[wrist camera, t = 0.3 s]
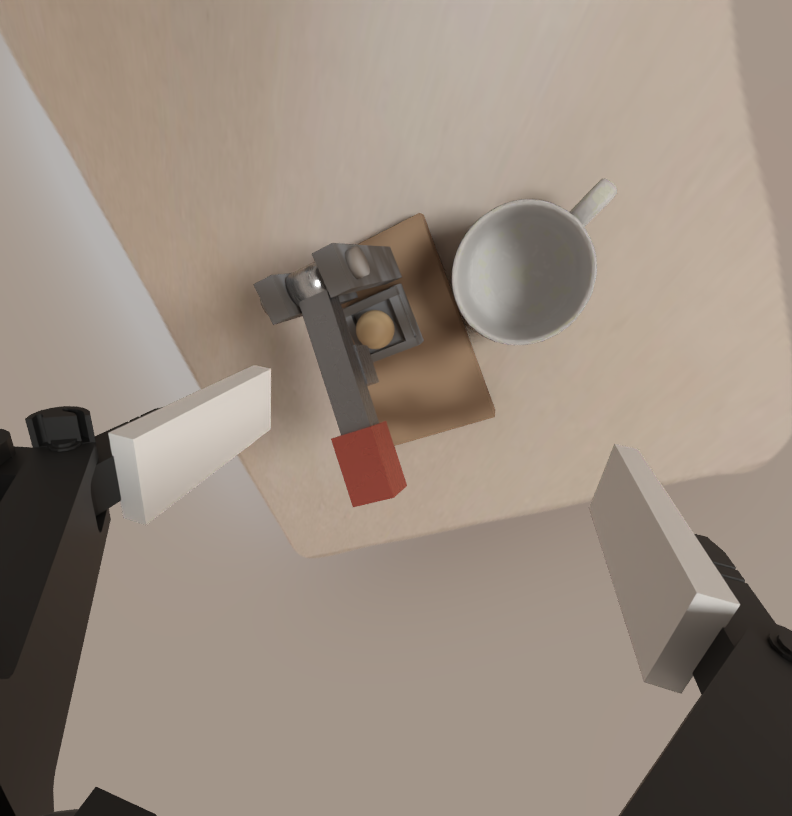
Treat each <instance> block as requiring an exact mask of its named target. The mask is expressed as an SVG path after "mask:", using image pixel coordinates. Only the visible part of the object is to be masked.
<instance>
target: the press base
mask: <svg viewBox="0 0 792 816" xmlns="http://www.w3.org/2000/svg"><path fill="white" fill-rule="evenodd" d="M312 256H313V258H314V260H315V263H316V265H317V267H318V269H319V272H320V274H321V276H322V278H323V281H324V283H325V285H326V287H327V290H328V292H329V294H330V296H331V298H332V297H336V296H338V297H339V300H340V303H341V306H342V309H343V312H344V315H345V318H346V321H347V325H348V328H349V331H350V334H351V337H352V340H353V343H354V345H355V344H357V345H363V344H362V343H361V342H360V341H359V339H358V337H357V334H356V325H357V322H358V320H359V318H360V317H361V316H362V315H363V314H364V313H366V312H368V311H371V310H379V311H382V312H384V313H386V314H387V315H388V316H389V317H390V318H391V319H392V321H393V324H394V336H393V338H392V340H391V342H390V343H389V344H388V345H387V346H385V347H383V348H380V349H371V348H369V352H370V355H371V358H372V361H373V364H374V367H375V370H376V373H377V376H378V379H379V382H378V383H376V384H373V385H370V386H367V387H368V390H369V393H370V396H371V399H372V402H373V405H374V408H375V411H376V414H377V418H378V421H379V423H381V422H384V421H386V422H387V425H388V428H389V431H390V434H391V438H392V441H393V444H394V446H395V445H399V444H402V443H406V442H409V441H413V440H416V439H420V438H423V437H427V436H430V435H434V434H437V433H440V432H444V431H447V430H451V429H454V428H458V427H461V426H465V425H468V424H472V423H475V422H479V421H482V420H486V419H489V418H493V417H495V408H494V405H493V402H492V400H491V397H490V394H489V392H488V389H487V386H486V383H485V381H484V378H483V375H482V372H481V370H480V367H479V364H478V362H477V359H476V356H475V353H474V351H473V348H472V345H471V342H470V340H469V337H468V334H467V332H466V329H465V326H464V323H463V321H462V318H461V315H460V313H459V310H458V307H457V304H456V302H455V299H454V296H453V293H452V291H451V288H450V285H449V283H448V280H447V277H446V274H445V272H444V269H443V266H442V263H441V261H440V258H439V255H438V253H437V250H436V247H435V244H434V242H433V239H432V236H431V234H430V231H429V228H428V225H427V223H426V220H425V217H424V215H423V214H421V213H418V214H416V215H414V216H412V217H410V218H409V219H407V220H405V221H403V222H401V223H399V224H397V225H395V226H393V227H391V228H389V229H387V230H385V231H383V232H381V233H379V234H377V235H375V236H373V237H371V238H369V239H367V240H365V241H363V242H362V243H360V244H358V245H354V244H338V243H331V244H329V245H327V246H326V247H324V248H322V249H320V250H318V251H316V252H314V253H312ZM290 274H292V273H289V274H278V275H270V276H269V277H267V278H265V279H263V280H261V281H259V282H257V283H255V284H254V286H255V289H256V291H257V293H258V295H259V297H260V301H261V305H262V307H263V309H264V311H265V312H266V313H267V314H268V315H269V317H270V319H271V321H272V323H273V325H274V324H278V323H281V322H284V321H288V320H291V319H294V318H297V317H301V316H303V315H302V312H301V309H300V307H299V306H298V305H297V304H296V303H295V301H294V300H293V299H292V297H291V295H290V293H289V291H288V288H287V283H286V280H287V277H288V275H290Z"/></svg>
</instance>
